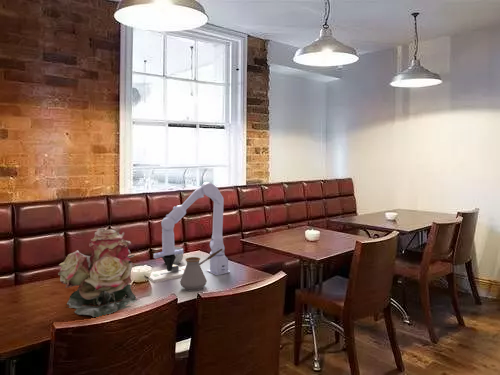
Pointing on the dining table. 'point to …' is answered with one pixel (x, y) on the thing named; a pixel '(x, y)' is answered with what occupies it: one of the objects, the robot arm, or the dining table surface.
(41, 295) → the dining table surface
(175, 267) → the breaker handle
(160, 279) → the plate
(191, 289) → the coffee pot
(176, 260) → the teacup
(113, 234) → the rose bouquet
